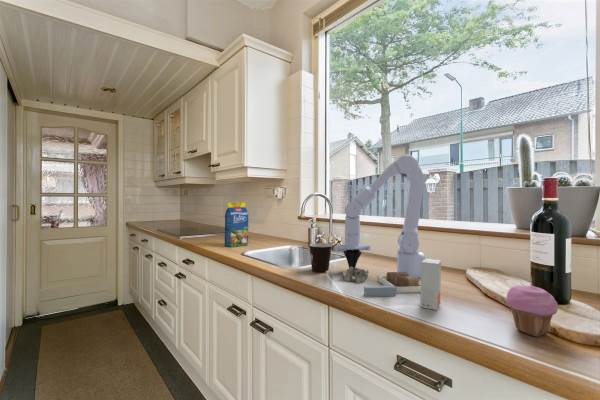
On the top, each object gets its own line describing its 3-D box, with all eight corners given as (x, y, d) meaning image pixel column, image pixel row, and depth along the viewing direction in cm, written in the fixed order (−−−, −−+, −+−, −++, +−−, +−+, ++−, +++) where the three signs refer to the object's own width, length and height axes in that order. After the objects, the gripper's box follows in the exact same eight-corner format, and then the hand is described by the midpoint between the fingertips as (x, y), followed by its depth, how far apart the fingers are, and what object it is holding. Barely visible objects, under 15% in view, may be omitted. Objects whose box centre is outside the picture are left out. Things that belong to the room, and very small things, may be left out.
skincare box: (437, 310, 77) (438, 263, 77) (419, 307, 79) (420, 261, 79) (440, 303, 82) (441, 259, 82) (424, 300, 84) (424, 258, 84)
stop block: (393, 295, 88) (393, 285, 88) (396, 297, 86) (396, 287, 86) (363, 296, 87) (364, 286, 87) (365, 298, 85) (365, 287, 85)
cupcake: (542, 345, 59) (542, 294, 59) (497, 327, 67) (497, 282, 67) (565, 336, 63) (566, 289, 63) (520, 321, 71) (521, 278, 71)
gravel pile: (362, 286, 98) (362, 273, 98) (340, 283, 102) (341, 271, 102) (370, 278, 108) (370, 267, 108) (350, 275, 111) (350, 264, 111)
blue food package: (224, 246, 172) (224, 202, 172) (241, 244, 181) (242, 202, 181) (230, 247, 168) (231, 202, 168) (248, 245, 177) (248, 202, 176)
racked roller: (403, 271, 100) (408, 272, 96) (404, 284, 99) (409, 285, 96) (386, 272, 100) (391, 272, 96) (386, 284, 99) (391, 285, 95)
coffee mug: (330, 274, 112) (330, 247, 112) (307, 272, 114) (307, 246, 113) (333, 267, 123) (333, 242, 123) (312, 266, 125) (312, 242, 125)
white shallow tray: (404, 281, 103) (404, 275, 103) (425, 293, 90) (425, 286, 90) (377, 282, 102) (377, 275, 102) (394, 294, 89) (394, 287, 89)
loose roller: (395, 290, 93) (400, 290, 89) (393, 276, 94) (399, 276, 90) (413, 289, 94) (419, 289, 90) (411, 276, 95) (418, 276, 91)
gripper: (339, 235, 108) (339, 273, 108) (374, 234, 113) (374, 271, 113) (331, 233, 115) (331, 269, 115) (365, 232, 119) (364, 266, 119)
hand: (351, 269), depth 114 cm, fingers closed
